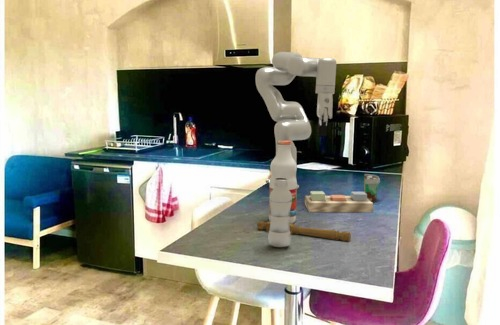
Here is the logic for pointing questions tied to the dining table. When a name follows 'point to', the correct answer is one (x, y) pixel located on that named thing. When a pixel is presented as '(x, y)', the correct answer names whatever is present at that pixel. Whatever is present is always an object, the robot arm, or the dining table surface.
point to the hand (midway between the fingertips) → (322, 135)
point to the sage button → (317, 196)
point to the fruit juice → (284, 174)
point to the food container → (371, 186)
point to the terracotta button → (338, 198)
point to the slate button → (358, 196)
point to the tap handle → (311, 231)
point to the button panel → (338, 205)
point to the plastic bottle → (280, 214)
